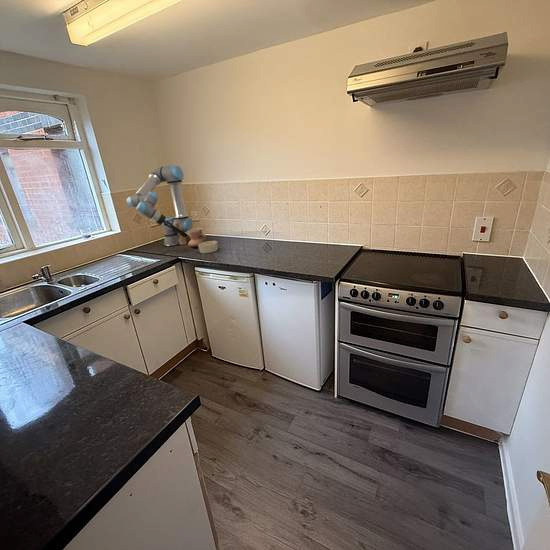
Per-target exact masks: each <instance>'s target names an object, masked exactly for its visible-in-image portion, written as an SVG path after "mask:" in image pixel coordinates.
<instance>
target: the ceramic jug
mask: <svg viewBox="0 0 550 550" xmlns="http://www.w3.org/2000/svg"><path fill="white" fill-rule="evenodd" d="M186 234H188V235H187V236H188V237H189V238H190V239H189V241H188V242H187V245H188V247H189V248H193V249H195V248H196V249H198V244H200V243H203V242H207V235H206V234H205V232H204V233H203V228H201V227H197V228H192V229H190V230H188V231H187V232H186ZM202 236H203V238H202Z"/></svg>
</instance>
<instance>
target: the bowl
mask: <svg viewBox="0 0 550 550" xmlns="http://www.w3.org/2000/svg"><path fill="white" fill-rule="evenodd" d="M197 249H198V252H199V253H200V254H205V255H206V254H212V253H215V252H217V251H218V250H219V243H218V241H216V240H206V242H203V243H200V244H198V247H197Z"/></svg>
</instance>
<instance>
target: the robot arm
mask: <svg viewBox="0 0 550 550" xmlns="http://www.w3.org/2000/svg"><path fill="white" fill-rule="evenodd" d="M184 177H185V175H184V171H183V169H182V168H181V167H180V166H179V165H176V164H175V165H173V164H171V165H166V166H165V165H164V166H159V167H157V168H155V169H154V170H152V172H151V173H150V174H149V175H148V178H147V179H146V181H145V182H144V183H143V184H142V185H141V186H140V188H139V189H138V190H137V191H136V192H135V193H134V195H133V196H128V197H127V198H126V203H127V205H128V207H130V208H135V209H136V211H137V213H139V214H141V215H143V216H144V217H147V218H148V219H150V221H151V222H155V223H156V224H157V225H159V226H161V228H162V229H161V230H162V233H163V236H164V239H163V246H164V247H177V246H179V245H181V244H180V242H179V239H180V236H179V234H181V235H183V238H187V236H189V235H188V234H187V231H188V230H190V229H193V226H194V222H193V219H192V218H191V217H190V216H189V215H188V213H187V210H186V206H185V201H184V195H183V190H182V183H183V182H182V181H183V180H184ZM165 182H166V184H167V185H168V186H169V189H170V194H171V198H172V204H173V210H174V214H175V216H172V217H168V218H167V217H166V215H164V214H163V213H161V212H159V211H158V210H156V209H155V206H156V204H157V203H158V199H159V196H158V193H156V192H155V191H153V190H154V189H155V188H156V187H157V186H159V185H160V184H162V183H165ZM176 223H179V224H180V228H181V230H180V229H178V228H177V227H176Z"/></svg>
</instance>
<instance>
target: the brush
mask: <svg viewBox="0 0 550 550" xmlns="http://www.w3.org/2000/svg"><path fill="white" fill-rule="evenodd" d="M176 227H177V228H178V229H180V230H181V228H180V224H179V223H176ZM178 235H179V237H180V239H179V242H180V244H179V245H185V244H188V242H187V237H184V236H183V235H181V234H179V233H178Z"/></svg>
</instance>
